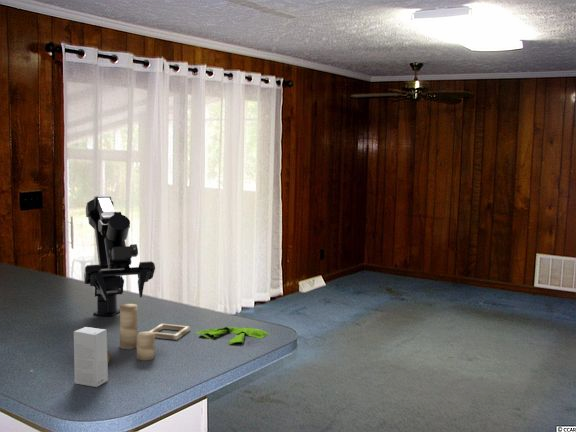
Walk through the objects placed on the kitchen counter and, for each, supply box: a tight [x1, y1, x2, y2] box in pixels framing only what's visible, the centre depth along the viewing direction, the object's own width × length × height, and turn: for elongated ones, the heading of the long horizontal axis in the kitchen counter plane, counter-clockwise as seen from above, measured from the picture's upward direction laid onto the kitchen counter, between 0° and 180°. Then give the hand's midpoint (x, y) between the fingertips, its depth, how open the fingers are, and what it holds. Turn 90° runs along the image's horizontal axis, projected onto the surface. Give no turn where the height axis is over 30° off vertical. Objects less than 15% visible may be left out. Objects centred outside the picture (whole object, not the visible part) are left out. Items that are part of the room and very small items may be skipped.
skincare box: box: [73, 326, 109, 388], centre depth 130 cm, size 6×4×12 cm
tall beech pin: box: [119, 303, 138, 350], centre depth 154 cm, size 4×4×11 cm
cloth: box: [194, 326, 270, 346], centre depth 165 cm, size 20×22×2 cm
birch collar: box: [148, 323, 191, 341], centre depth 166 cm, size 9×9×1 cm
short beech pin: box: [136, 331, 156, 361], centre depth 147 cm, size 4×4×6 cm
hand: (124, 298), depth 158 cm, fingers open, 9 cm apart
